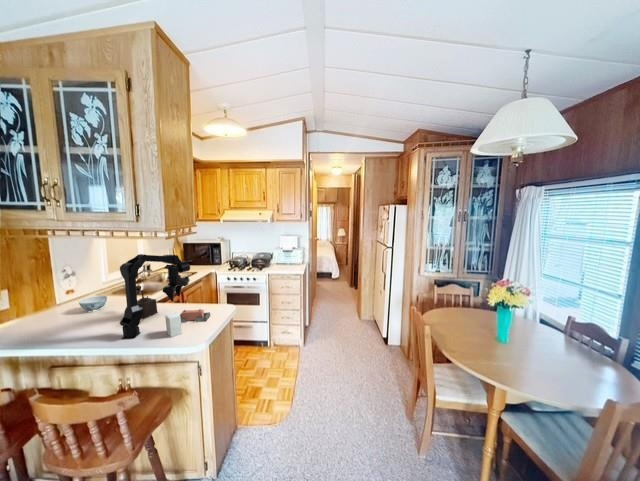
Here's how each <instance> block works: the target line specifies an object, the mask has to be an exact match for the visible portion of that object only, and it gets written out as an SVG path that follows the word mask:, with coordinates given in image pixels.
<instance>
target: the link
mask: <svg viewBox="0 0 640 481" xmlns="http://www.w3.org/2000/svg"><path fill="white" fill-rule="evenodd" d="M204 310H205V309H201V308H200V309H192V310H187V309H184V310H183V311H182V312H181V313H180V314H181V315H182V318H186V321H187V320H188V321H196V317H204V313H205V311H204ZM188 321H187V322H188Z"/></svg>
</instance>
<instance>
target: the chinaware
mask: <svg viewBox="0 0 640 481" xmlns="http://www.w3.org/2000/svg"><path fill="white" fill-rule="evenodd" d="M107 301H108V296H106V295H98V296H97V295H96V296H91V297H86V298H84V299H80V300H79V301H78V303H79V304H78V305H79V306H80V307H81V308H82V309H83V310H84V311H85V310H86V311H87V312H88V311H93V310H98V309H100V308H101V309H102V308H103V307H104V306H105V305H106V303H107ZM101 309H100V310H101ZM98 311H99V310H98Z"/></svg>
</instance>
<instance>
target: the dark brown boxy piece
mask: <svg viewBox="0 0 640 481" xmlns="http://www.w3.org/2000/svg"><path fill="white" fill-rule="evenodd" d="M136 291H137V296H141V298H140V299H137V303H138V306H139V307H142V308H143V314H142V318H141V319H143V320H144V319H147V318H149V317H151V316H153V315H156V314H158V305H157V299H156V298H151V297H149V296H146V297H145V296H144V290H142V286H141V285H136Z"/></svg>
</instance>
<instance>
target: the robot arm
mask: <svg viewBox="0 0 640 481" xmlns="http://www.w3.org/2000/svg"><path fill="white" fill-rule="evenodd" d="M145 262H153V263H154V262H156V263H157V262H158V263H164V264H166V265H165V266H164V268H163V269H164V270H167V277H166V279H167V280H168V283H167V285H166V286H164V287H163V288H162V293H164V294H165V295H166V296H167V297H168V299H169V300H170V301H171V302H174V301H175V293H176V295H177V297H181V291H182V288H183V287H187V286H188V285H189V282H190V278H189V276H187V275H186V276H185V277H181V276H182V275H180V274H182V273H186V272H189V271H190V270H191V265H190V264H189V263H188V260H184V261H182V260H181V259H180V257H179V255H177V254H164V255H155V254H154V255H153V254H152V255H151V254H149V255H148V254H143V253H140V254H137V255H136V256H134V257H133V258H131V259H130V260H129V259H128V261H126V262H123V263H122V264H121V265H120V266H119V271H120V275H121V277H122V279H123V280H124V286H125V289H124V290H125V298H126V299H125V300H126V307H125V310H124V314H123V317H122V318H121V320H120V321H119V324H120V326H121V327H122V334H123V336H122V337H121V340H129V339H135V338H136V337H138V336H139V335H140V334H141V331H140V330H141V329H140V323H141V319H142V314H143V308H142V307H139V306H138V303H137V301H138V295H137V291H136V286H137V282H136V280H137V277H138V275H139V270H140V269H141V268H142V267H143V265H144V264H145Z"/></svg>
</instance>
